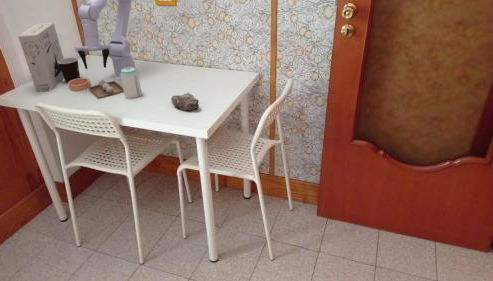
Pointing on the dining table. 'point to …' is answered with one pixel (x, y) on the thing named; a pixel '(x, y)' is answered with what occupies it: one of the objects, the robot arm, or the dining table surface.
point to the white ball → (105, 86)
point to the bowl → (79, 84)
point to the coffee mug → (69, 68)
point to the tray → (102, 93)
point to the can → (130, 82)
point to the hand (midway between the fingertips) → (95, 67)
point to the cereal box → (42, 55)
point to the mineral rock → (185, 101)
